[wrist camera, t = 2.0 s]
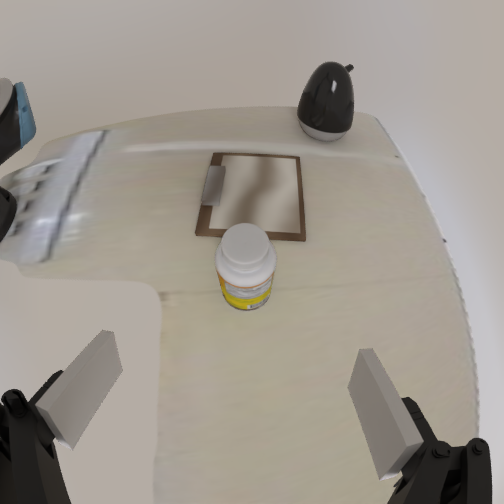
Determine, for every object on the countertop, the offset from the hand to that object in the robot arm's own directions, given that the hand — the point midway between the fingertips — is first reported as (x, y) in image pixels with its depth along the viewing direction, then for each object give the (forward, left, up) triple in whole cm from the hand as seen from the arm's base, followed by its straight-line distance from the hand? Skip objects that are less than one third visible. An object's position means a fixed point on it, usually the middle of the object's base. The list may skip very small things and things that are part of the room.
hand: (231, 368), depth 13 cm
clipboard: (0, +25, -15) cm, 29 cm away
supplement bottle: (0, +10, -15) cm, 18 cm away
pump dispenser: (+12, +42, -15) cm, 47 cm away
